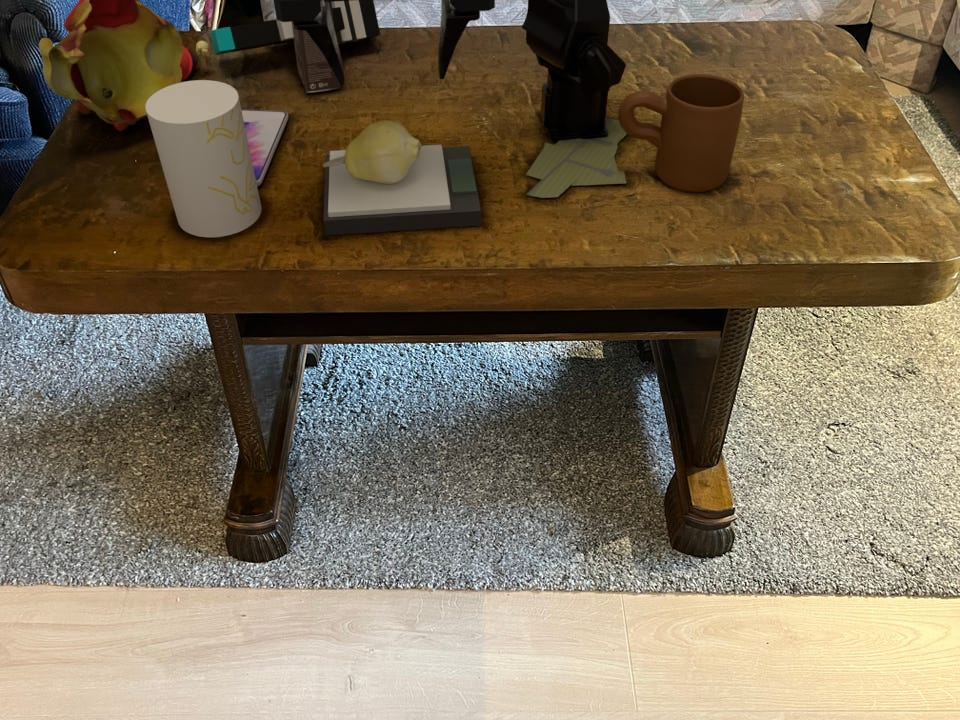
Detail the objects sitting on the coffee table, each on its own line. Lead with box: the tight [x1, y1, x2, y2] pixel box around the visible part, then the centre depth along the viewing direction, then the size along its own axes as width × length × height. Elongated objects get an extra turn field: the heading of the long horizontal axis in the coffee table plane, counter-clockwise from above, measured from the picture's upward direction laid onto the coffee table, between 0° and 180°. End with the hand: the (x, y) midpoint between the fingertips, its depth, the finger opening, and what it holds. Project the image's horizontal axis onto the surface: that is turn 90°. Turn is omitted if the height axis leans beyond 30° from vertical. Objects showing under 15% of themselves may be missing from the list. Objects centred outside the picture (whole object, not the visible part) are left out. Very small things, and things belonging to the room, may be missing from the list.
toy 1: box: [38, 0, 184, 132], centre depth 96 cm, size 15×15×13 cm
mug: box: [617, 73, 745, 193], centre depth 89 cm, size 12×8×9 cm, turn 87°
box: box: [292, 2, 341, 94], centre depth 104 cm, size 6×4×12 cm
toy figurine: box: [180, 40, 210, 82], centre depth 107 cm, size 8×4×8 cm
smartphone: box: [241, 108, 289, 187], centre depth 96 cm, size 7×1×15 cm
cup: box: [145, 79, 262, 238], centre depth 84 cm, size 8×8×12 cm
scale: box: [323, 144, 482, 236], centre depth 89 cm, size 15×12×2 cm
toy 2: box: [209, 0, 381, 56], centre depth 111 cm, size 10×5×20 cm
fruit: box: [322, 119, 423, 184], centre depth 86 cm, size 6×6×10 cm
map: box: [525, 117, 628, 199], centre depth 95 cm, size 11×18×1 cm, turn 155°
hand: (392, 80), depth 83 cm, fingers open, 9 cm apart
